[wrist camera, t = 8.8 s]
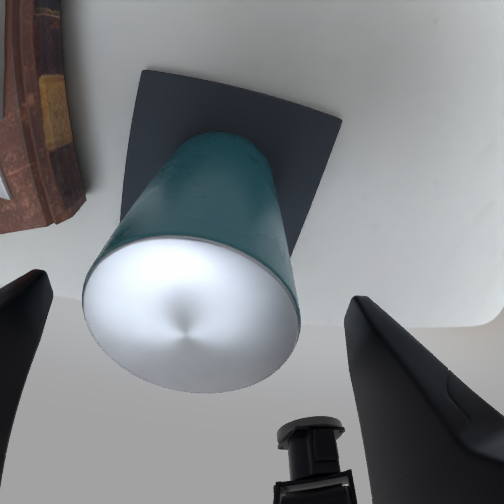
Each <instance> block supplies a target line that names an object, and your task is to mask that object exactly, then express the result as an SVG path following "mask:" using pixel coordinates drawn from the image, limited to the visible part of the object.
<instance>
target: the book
mask: <svg viewBox="0 0 504 504" xmlns="http://www.w3.org/2000/svg"><path fill="white" fill-rule="evenodd" d="M85 201H86V196H85V192H84V188H83V184H82V179H81V175H80V171H79V166H78V161H77V156H76V152H75V146H74V141H73V136H72V130H71V124H70V118H69V111H68V105H67V97H66V89H65V81H64V71H63V61H62V47H61V29H60V0H0V234H4V233H10V232H16V231H22V230H28V229H34V228H40V227H47V226H49V225H51V224H53V223H55V224H56V225H57V224H59V223H61V222H63V221H65V220H67V219H69V218H71V217H73V216H74V215H75V213H76V212H77V211H78V210H79V209H80V207H81V206H82V205H83V204H84V203H85Z"/></svg>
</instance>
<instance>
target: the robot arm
mask: <svg viewBox="0 0 504 504" xmlns="http://www.w3.org/2000/svg"><path fill="white" fill-rule="evenodd" d="M52 300H53V290H52V287H51V284H50V281H49V278H48V275H47V273H46V272H45V271H44V270H38V269H34V270H32V271H30V272H28V273H26V274H24V275H23V276H21V277H19V278H18V279H16V280H14V281H12V282H11V283H9V284H7V285H6V286H4V287H2V288H1V289H0V485H1V479H2V473H3V468H4V462H5V457H6V455H5V454H6V452H7V447H8V443H9V438H10V434H11V430H12V426H13V422H14V419H15V415H16V411H17V408H18V404H19V401H20V398H21V394H22V391H23V388H24V385H25V382H26V379H27V375H28V373H29V370H30V367H31V364H32V361H33V358H34V356H35V353H36V350H37V348H38V345H39V342H40V339H41V336H42V333H43V329H44V326H45V322H46V319H47V316H48V312H49V309H50V306H51V303H52ZM344 328H345V336H346V346H347V355H348V364H349V372H350V377H351V382H352V386H353V391H354V396H355V401H356V406H357V411H358V416H359V421H360V427H361V432H362V438H363V444H364V449H365V454H366V461H367V467H368V474H369V480H370V487H371V494H372V502H373V504H504V416H503V415H502V414H500V413H499V412H498V411H497V410H495V409H494V408H493V407H492V406H490V405H489V404H488V403H486V402H485V401H484V400H483V399H482V398H481V397H479V396H478V395H477V394H476V393H475V392H473V391H472V390H471V389H470V388H469V387H468V386H467V385H465V384H464V383H463V382H462V381H461V380H460V379H459V378H458V377H456V375H454V374H453V373H452V372H451V371H450V370H448V368H447V367H446V366H445V365H443V363H441V362H440V361H439V360H438V359H437V358H436V357H435V356H434V355H433V354H432V353H431V352H430V351H428V350H427V349H426V348H425V347H424V346H423V345H422V344H421V343H420V342H419V341H417V340H416V339H415V338H414V337H413V336H412V335H411V334H410V333H409V332H407V331H406V330H405V329H404V328H403V327H402V326H401V325H400V324H398V323H397V322H396V321H395V320H394V319H393V318H392V317H390V316H389V315H388V314H387V313H386V312H385V311H384V310H383V309H381V308H380V307H379V306H378V305H377V304H376V303H374V302H373V301H372V300H371V299H370V298H369V297H367V296H354V297H353V298H352V299H351V302H350V304H349V307H348V310H347V312H346V315H345V318H344ZM344 432H345V429H344V427H312V426H296V427H294V428H293V429H292V431H291V432H290V433H289V434H288V435H287V436H286V437H285V438H284V439H283V440H282V441H281V442H280V444H279V445H278V449H284V450H288V456H289V469H290V481H286V482H276V485H275V486H274V501H273V504H357V499H356V493H355V488H354V483H353V476H352V471H351V469H350V470H347V471H344V472H340V465H339V455H338V449H337V443H336V439H337V438H338V437H339V436H340V435H341V434H342V433H344ZM344 484H348V486H342V485H344Z"/></svg>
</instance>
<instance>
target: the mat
mask: <svg viewBox="0 0 504 504" xmlns="http://www.w3.org/2000/svg"><path fill="white" fill-rule="evenodd" d="M341 124H342V120H341V119H340V118H337V117H335V116H332V115H329V114H326V113H323V112H320V111H318V110H315V109H312V108H309V107H306V106H302V105H299V104H296V103H293V102H290V101H286V100H283V99H280V98H276V97H273V96H269V95H266V94H262V93H258V92H254V91H251V90H247V89H243V88H239V87H235V86H230V85H226V84H222V83H217V82H212V81H208V80H203V79H198V78H192V77H187V76H182V75H176V74H170V73H163V72H157V71H150V70H143V71H142V73H141V77H140V82H139V87H138V92H137V97H136V102H135V107H134V113H133V118H132V124H131V131H130V137H129V144H128V151H127V158H126V166H125V174H124V183H123V193H122V203H121V216H120V223H121V221H122V220H123V219H124V217H125V216H126V214H127V213H128V212H129V210H130V209H131V207H132V206H133V205H134V203H135V202H136V201H137V199H138V198H139V196H140V195H141V194H142V192H143V191H144V190H145V188H146V187H147V186H148V185H149V183H150V182H151V181H152V179H153V178H154V177H155V175H156V174H157V173H158V172H159V170H160V169H161V168H162V167H163V165H164V164H165V163H166V162H167V160H168V159H169V158H170V157H171V155H172V154H173V153H174V152H175V151H176V149H177V148H178V147H179V146H180V145H182V144H183V143H184V142H186V141H187V140H189V139H190V138H192V137H194V136H197V135H200V134H203V133H208V132H227V133H232V134H235V135H239V136H241V137H243V138H245V139H247V140H248V141H250V142H251V143H253V144H254V145H255V146H256V147H258V149H259V150H260V151H261V152H262V153H263V154H264V156H265V157H266V159H267V161H268V163H269V165H270V168H271V171H272V175H273V179H274V184H275V188H276V193H277V198H278V202H279V207H280V212H281V217H282V222H283V226H284V231H285V236H286V241H287V246H288V251H289V256H291V254H292V251H293V249H294V247H295V244H296V242H297V239H298V237H299V234H300V232H301V229H302V227H303V224H304V221H305V219H306V216H307V214H308V211H309V209H310V206H311V204H312V201H313V198H314V196H315V193H316V191H317V188H318V185H319V183H320V180H321V178H322V175H323V172H324V170H325V167H326V164H327V162H328V159H329V156H330V154H331V151H332V148H333V145H334V143H335V140H336V137H337V135H338V132H339V129H340V126H341Z"/></svg>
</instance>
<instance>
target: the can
mask: <svg viewBox="0 0 504 504" xmlns="http://www.w3.org/2000/svg"><path fill="white" fill-rule="evenodd" d="M82 305H83V306H82V307H83V312H84V317H85V320H86V323H87V326H88V328H89V330H90V332H91V334H92V336H93V338H94V339H95V341H96V342H97V344H98V345H99V346H100V347H101V349H102V350H103V351H104V352H105V353H106V354H107V355H108V356H109V357H110V358H111V359H112V360H113V361H114V362H116V363H117V364H118V365H119V366H121V367H122V368H124V369H125V370H127V371H128V372H130V373H131V374H133V375H135V376H137V377H139V378H141V379H143V380H145V381H147V382H150V383H152V384H155V385H158V386H161V387H164V388H168V389H172V390H176V391H182V392H190V393H222V392H228V391H234V390H238V389H241V388H245V387H248V386H251V385H253V384H256V383H258V382H259V381H262V380H264V379H265V378H267V377H269V376H270V375H272V374H273V373H274V372H275V371H277V370H278V369H279V368H280V367H281V366H282V365H283V364H284V363H285V362H286V361H287V359H288V358H289V356H290V355H291V353H292V352H293V350H294V348H295V346H296V343H297V341H298V337H299V333H300V327H301V317H300V309H299V304H298V298H297V293H296V288H295V282H294V277H293V272H292V267H291V262H290V256H289V251H288V246H287V241H286V236H285V231H284V226H283V222H282V217H281V212H280V207H279V202H278V198H277V193H276V188H275V184H274V179H273V175H272V171H271V168H270V165H269V163H268V161H267V159H266V157H265V156H264V154H263V153H262V152H261V151H260V150H259V149H258V147H256V146H255V145H254V144H253V143H251V142H250V141H248V140H247V139H245V138H243V137H241V136H239V135H235V134H232V133H227V132H208V133H203V134H200V135H197V136H194V137H192V138H190V139H189V140H187V141H186V142H184V143H183V144H182V145H180V146H179V147H178V148H177V149H176V151H175V152H174V153H173V154H172V155H171V157H170V158H169V159H168V160H167V162H166V163H165V164H164V165H163V167H162V168H161V169H160V170H159V172H158V173H157V174H156V175H155V177H154V178H153V179H152V181H151V182H150V183H149V185H148V186H147V187H146V188H145V190H144V191H143V192H142V194H141V195H140V196H139V198H138V199H137V201H136V202H135V203H134V205H133V206H132V207H131V209H130V210H129V212H128V213H127V214H126V216H125V217H124V219H123V220H122V221H121V223H120V224H119V226H118V227H117V229H116V230H115V231H114V233H113V234H112V236H111V237H110V239H109V240H108V242H107V243H106V245H105V246H104V248H103V249H102V251H101V252H100V254H99V255H98V257H97V259H96V260H95V262H94V263H93V265H92V267H91V268H90V270H89V272H88V273H87V276H86V279H85V282H84V285H83V292H82Z"/></svg>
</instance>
